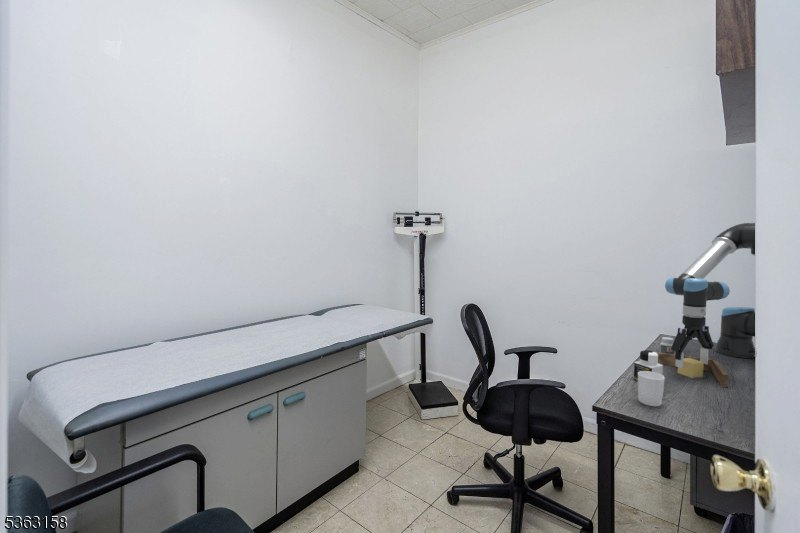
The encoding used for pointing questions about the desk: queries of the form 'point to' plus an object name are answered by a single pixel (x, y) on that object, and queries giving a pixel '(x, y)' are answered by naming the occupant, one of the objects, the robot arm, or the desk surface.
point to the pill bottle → (666, 345)
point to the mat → (690, 377)
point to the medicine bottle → (647, 363)
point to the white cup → (650, 388)
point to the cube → (691, 368)
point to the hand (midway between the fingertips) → (691, 365)
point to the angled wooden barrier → (711, 366)
